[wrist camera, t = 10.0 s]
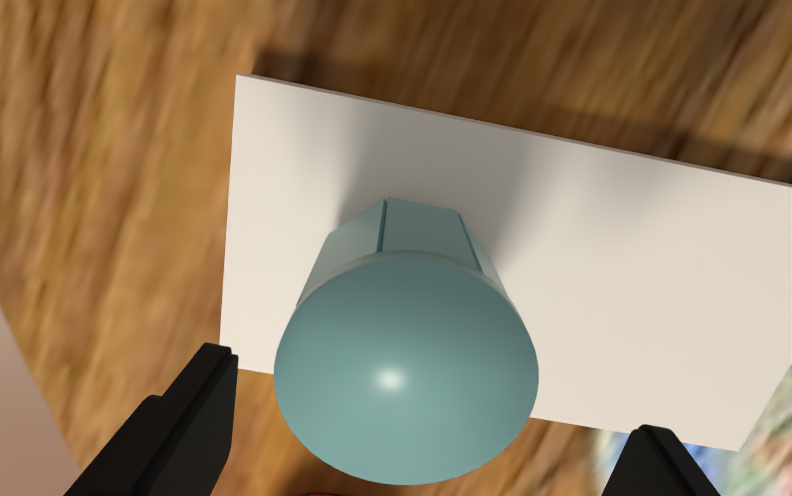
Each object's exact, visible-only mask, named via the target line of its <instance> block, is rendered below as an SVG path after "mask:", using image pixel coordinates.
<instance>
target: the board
mask: <svg viewBox="0 0 792 496" xmlns="http://www.w3.org/2000/svg"><path fill="white" fill-rule="evenodd" d="M388 197H392V198H397V199H402V200H407V201H413V202H418V203H423V204H428V205H433V206H439V207H444V208H449V209H454V210H456V211H457V214H458V213H459V212H460V214H461V215H462V217H463V218H464V220H465V221H466V223H467V224H468V226H469V227H470V229H471V230H472V232H473V234H474V235H475V237H476V238H477V240H478V241H479V243H480V244H481V246H482V247H483V249H484V250H485V252H486V253H487V255H488V257H489V258H490V260H491V261H492V263H493V264H494V266H495V268H496V271H497V273H498V275H499V277H500V279H501V281H502V284H503V286H504V288H505V290H506V292H507V294H508V297H509V298H510V300H511V301H512V302H513V303H514V305H515V307H516V309H517V311H518V313H519V314H520V316H521V318H522V320H523V323H524V325H525V327H526V329H527V331H528V333H529V335H530V337H531V340H532V343H533V346H534V348H535V351H536V356H537V361H538V366H539V384H538V391H537V397H536V400H535V404H534V407H533V410H532V412H531V414H530V416H529V417H533V418H539V419H545V420H551V421H557V422H563V423H569V424H575V425H581V426H587V427H593V428H599V429H605V430H611V431H617V432H623V433H629V434H630V433H631V432H632V431H633V430H634V429H638V428H639V426H641V425H642V424H648V425H653V426H658V427H664V428H668V429H670V430H672V431H673V432H674V433H675V435H676V436H677V437H678V439H679V440H680V441H681V442H683V443H689V444H695V445H701V446H707V447H713V448H719V449H725V450H731V451H737V452H738V451H739V449H740V448H741V446H742V444H743V443H744V441H745V440H746V438H747V436H748V435H749V433H750V431H751V430H752V428H753V426H754V425H755V423H756V421H757V420H758V418H759V417H760V415H761V413H762V412H763V410H764V408H765V407H766V405H767V403H768V402H769V400H770V398H771V397H772V395H773V394H774V392H775V390H776V389H777V387H778V385H779V384H780V382H781V380H782V379H783V377H784V375H785V374H786V372H787V371H788V369H789V367H790V366H791V364H792V184H788V183H783V182H778V181H773V180H769V179H764V178H759V177H754V176H749V175H744V174H739V173H734V172H729V171H724V170H719V169H715V168H710V167H705V166H700V165H695V164H690V163H685V162H680V161H675V160H670V159H665V158H661V157H656V156H651V155H646V154H641V153H636V152H631V151H626V150H621V149H616V148H611V147H607V146H602V145H597V144H592V143H587V142H582V141H577V140H572V139H567V138H562V137H557V136H553V135H548V134H543V133H538V132H533V131H528V130H523V129H518V128H513V127H508V126H504V125H499V124H494V123H489V122H484V121H479V120H474V119H469V118H464V117H459V116H454V115H450V114H445V113H440V112H435V111H430V110H425V109H420V108H415V107H410V106H405V105H400V104H396V103H391V102H386V101H381V100H376V99H371V98H366V97H361V96H356V95H351V94H346V93H342V92H337V91H332V90H327V89H322V88H317V87H312V86H307V85H302V84H297V83H293V82H288V81H283V80H278V79H273V78H268V77H263V76H258V75H253V74H240V75H236V88H235V104H234V120H233V136H232V152H231V168H230V184H229V200H228V216H227V232H226V248H225V265H224V281H223V297H222V313H221V329H220V345H223V346H228V347H231V350H232V354H235V355H238V357H239V362H238V368H240V369H246V370H252V371H258V372H264V373H270V374H274V362H275V357H276V352H277V349H278V346H279V343H280V341H281V338H282V335H283V333H284V331H285V329H286V326H287V324H288V322H289V320H290V318H291V315H292V314H293V312H294V310H295V308H296V304H297V302H298V299H299V297H300V295H301V293H302V291H303V288H304V286H305V284H306V282H307V279H308V277H309V275H310V273H311V270H312V268H313V266H314V264H315V262H316V259H317V257H318V255H319V253H320V250H321V248H322V246H323V244H324V241H325V239H326V237H327V236H328V234H329V233H331V232H332V231H334V230H335V229H337V228H338V227H340V226H341V225H343V224H345V223H346V222H348V221H349V220H351V219H352V218H354V217H355V216H357V215H358V214H360V213H361V212H363V211H364V210H366V209H367V208H369V207H370V206H372V205H373V204H375V203H377V202H378V201H380V200H381V199H383V198H384V199H385V200H386V201H388Z"/></svg>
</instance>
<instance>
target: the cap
mask: <svg viewBox="0 0 792 496" xmlns="http://www.w3.org/2000/svg"><path fill="white" fill-rule="evenodd" d="M273 380H274V388H275V395H276V398H277V402H278V405H279V408H280V410H281V413H282V415H283V417H284V419H285V421H286V423H287V424H288V426H289V427H290V429H291V431H292V432H293V433H294V435H295V436H296V437H297V438H298V439H299V441H300V442H301V443H302V444H303V445H304V446H305V447H306V448H307V449H309V450H310V451H311V452H312V453H313V454H314V455H316V456H317V457H318V458H320V459H321V460H323V461H324V462H325V463H327V464H329V465H331V466H332V467H334V468H336V469H338V470H340V471H342V472H345V473H347V474H349V475H352V476H355V477H358V478H361V479H364V480H368V481H373V482H378V483H383V484H392V485H420V484H430V483H435V482H441V481H445V480H448V479H452V478H455V477H459V476H461V475H463V474H466V473H468V472H471V471H473V470H475V469H477V468H479V467H480V466H482V465H484V464H486V463H487V462H489V461H490V460H492V459H493V458H495V457H496V456H497V455H499V454H500V453H501V452H502V451H503V450H504V449H505V448H507V447H508V446H509V445H510V444H511V443H512V441H513V440H514V439H515V438H516V437H517V436H518V434H519V433H520V432H521V430H522V428H523V427H524V425H525V424H526V422H527V420H528V418H529V416H530V414H531V412H532V410H533V407H534V404H535V400H536V397H537V391H538V384H539V366H538V361H537V356H536V351H535V348H534V346H533V343H532V340H531V337H530V335H529V333H528V331H527V329H526V327H525V325H524V323H523V320H522V318H521V316H520V314H519V313H518V311H517V309H516V307H515V305H514V303H513V302H512V301H511V300H510V298H509V297H508V294H507V292H506V290H505V288H504V286H503V284H502V281H501V279H500V277H499V275H498V273H497V271H496V268H495V266H494V264H493V263H492V261H491V260H490V258H489V257H488V255H487V253H486V252H485V250H484V249H483V247H482V246H481V244H480V243H479V241H478V240H477V238H476V237H475V235H474V234H473V232H472V230H471V229H470V227H469V226H468V224H467V223H466V221H465V220H464V218H463V217H462V215H461V214H460V212H459V213H458V214H457V211H456V210H454V209H449V208H444V207H439V206H433V205H428V204H423V203H418V202H413V201H407V200H402V199H397V198H392V197H388V201H386V200H385V199H384V198H383V199H381V200H380V201H378V202H377V203H375V204H373V205H372V206H370V207H369V208H367V209H366V210H364V211H363V212H361V213H360V214H358V215H357V216H355V217H354V218H352V219H351V220H349V221H348V222H346V223H345V224H343V225H341V226H340V227H338V228H337V229H335V230H334V231H332V232H331V233H329V234H328V236H327V237H326V239H325V241H324V244H323V246H322V248H321V250H320V253H319V255H318V257H317V259H316V262H315V264H314V266H313V268H312V270H311V273H310V275H309V277H308V279H307V282H306V284H305V286H304V288H303V291H302V293H301V295H300V297H299V299H298V302H297V304H296V308H295V310H294V312H293V314H292V315H291V318H290V320H289V322H288V324H287V326H286V329H285V331H284V333H283V335H282V338H281V341H280V343H279V346H278V349H277V352H276V357H275V362H274V377H273Z"/></svg>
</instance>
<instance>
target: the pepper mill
mask: <svg viewBox="0 0 792 496" xmlns="http://www.w3.org/2000/svg"><path fill="white" fill-rule="evenodd" d="M307 496H335V495H324V494H313V495H307Z"/></svg>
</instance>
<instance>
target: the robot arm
mask: <svg viewBox="0 0 792 496" xmlns="http://www.w3.org/2000/svg"><path fill="white" fill-rule="evenodd" d="M238 362H239V357H238V355H235V354H232V350H231V347H228V346H223V345H217V344H212V343H204V344H203V345H202V346H201V348H200V349H199V350H198V351H197V353H196V354H195V355H194V356H193V358H192V359H191V360H190V362H189V363H188V364H187V365H186V367H185V368H184V369H183V370H182V372H181V373H180V374H179V375H178V377H177V378H176V379H175V380H174V382H173V383H172V384H171V385H170V387H169V388H168V389H167V391H166V392H165V393H164V394H163V396H157V395H150V396H148V397H147V398H146V399H145V400H143V401H142V403H141V404H140V405H139V406H138V407H137V409H136V410H135V411H134V412H133V413H132V415H131V416H130V417H129V418H128V419H127V420H126V422H125V423H124V424H123V425H122V426H121V428H120V429H119V430H118V431H117V432H116V434H115V435H114V436H113V437H112V438H111V440H110V441H109V442H108V443H107V444H106V445H105V447H104V448H103V449H102V450H101V451H100V453H99V454H98V455H97V456H96V457H95V459H94V460H93V461H92V462H91V463H90V464H89V466H88V467H87V468H86V469H85V470H84V472H83V473H82V474H81V475H80V476H79V478H78V479H77V480H76V481H75V482H74V484H73V485H72V486H71V487H70V488H69V490H68V491H67V492H66V493H65V494H64V495H63V496H210V494H211V492H212V490H213V488H214V486H215V484H216V482H217V480H218V478H219V476H220V474H221V472H222V470H223V468H224V466H225V464H226V461H227V459H228V456H229V453H230V449H231V441H232V430H233V418H234V407H235V396H236V384H237V373H238ZM601 496H720V494H719V493H718V492H717V490H716V489H715V488H714V486H713V485H712V484H711V482H710V481H709V479H708V478H707V477H706V475H705V474H704V473H703V471H702V470H701V469H700V467H699V466H698V465H697V463H696V462H695V460H694V459H693V458H692V456H691V455H690V454H689V452H688V451H687V450H686V448H685V447H684V446H683V444H682V443H681V441H680V440H679V439H678V437H677V436H676V435H675V433H674V432H673V431H672V430H670V429H668V428H664V427H658V426H653V425H648V424H642V425H641V426H639V428H638V429H634V430H633V431H632V432H631V433H630V436H629V438H628V440H627V442H626V444H625V446H624V448H623V450H622V453H621V455H620V457H619V459H618V461H617V463H616V465H615V468H614V470H613V472H612V474H611V476H610V478H609V480H608V483H607V485H606V487H605V489H604V491H603V493H602V495H601Z"/></svg>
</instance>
